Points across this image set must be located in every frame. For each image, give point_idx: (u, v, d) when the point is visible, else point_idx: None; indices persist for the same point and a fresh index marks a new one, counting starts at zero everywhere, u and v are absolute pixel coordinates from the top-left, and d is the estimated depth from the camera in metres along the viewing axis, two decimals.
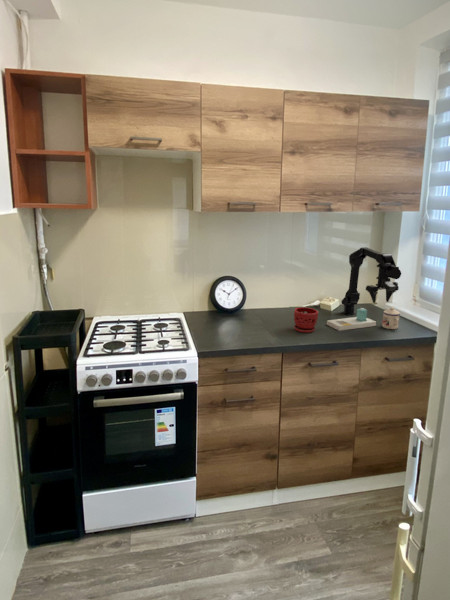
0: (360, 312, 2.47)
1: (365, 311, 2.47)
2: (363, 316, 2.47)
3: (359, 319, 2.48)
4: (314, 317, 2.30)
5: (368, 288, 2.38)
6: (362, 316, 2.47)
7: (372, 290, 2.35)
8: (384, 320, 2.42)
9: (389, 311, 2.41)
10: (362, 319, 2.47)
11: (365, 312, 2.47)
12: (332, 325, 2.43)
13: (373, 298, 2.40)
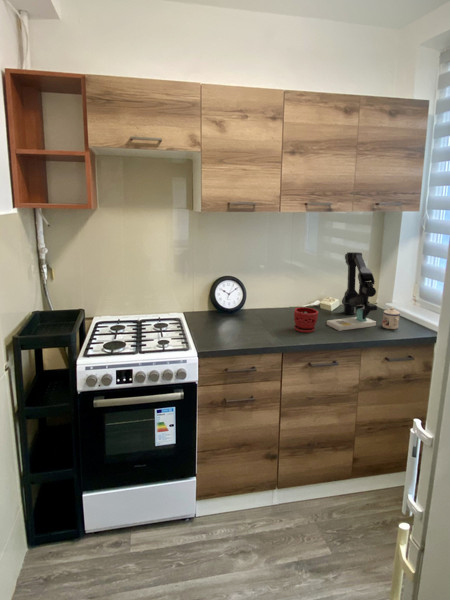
0: (360, 312, 2.47)
1: None
2: None
3: (359, 319, 2.48)
4: (314, 317, 2.30)
5: None
6: (362, 316, 2.47)
7: (349, 301, 2.54)
8: (384, 320, 2.42)
9: (389, 311, 2.41)
10: (362, 319, 2.47)
11: None
12: (332, 325, 2.43)
13: None
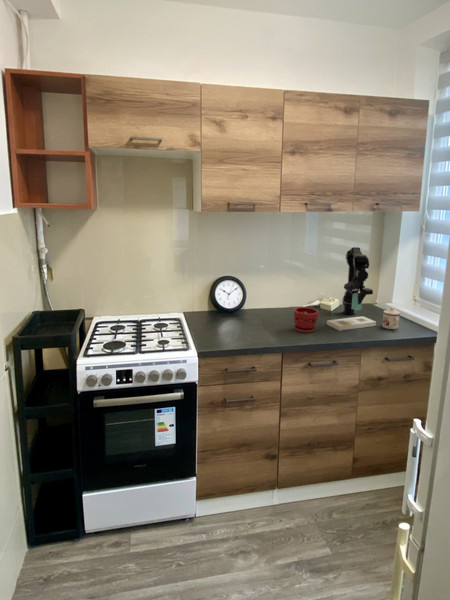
0: (355, 297, 2.42)
1: None
2: None
3: (354, 304, 2.44)
4: (314, 317, 2.30)
5: None
6: (357, 301, 2.42)
7: (344, 286, 2.50)
8: (384, 320, 2.42)
9: (389, 311, 2.41)
10: (357, 304, 2.43)
11: None
12: (332, 325, 2.43)
13: None
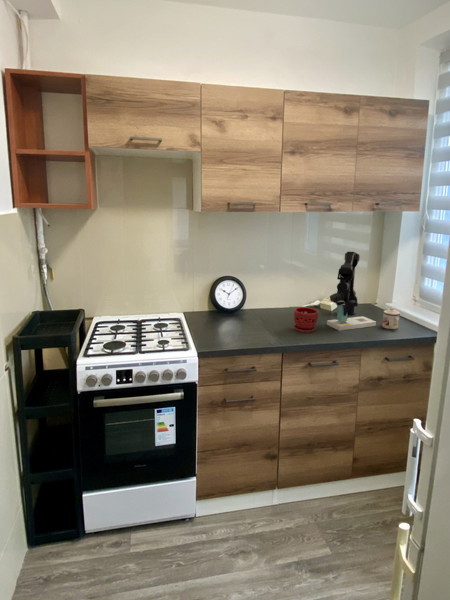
0: (341, 308, 2.41)
1: None
2: None
3: (340, 315, 2.42)
4: (314, 317, 2.30)
5: None
6: (343, 312, 2.41)
7: None
8: (384, 320, 2.42)
9: (389, 311, 2.41)
10: (343, 315, 2.41)
11: None
12: (332, 325, 2.43)
13: None
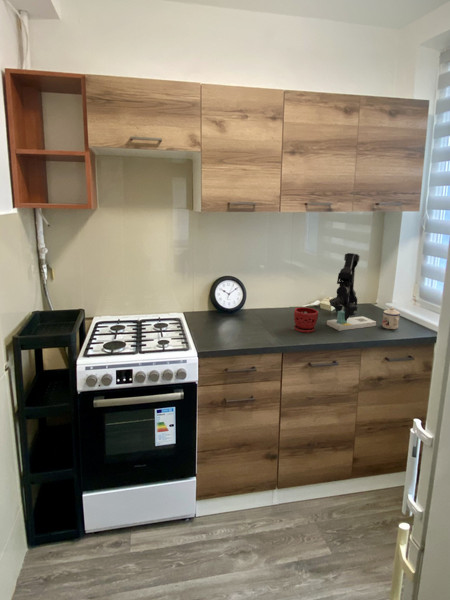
0: (340, 314, 2.42)
1: None
2: (343, 319, 2.42)
3: (339, 321, 2.43)
4: (314, 317, 2.30)
5: None
6: (342, 318, 2.42)
7: None
8: (384, 320, 2.42)
9: (389, 311, 2.41)
10: (342, 321, 2.42)
11: None
12: (332, 325, 2.43)
13: None
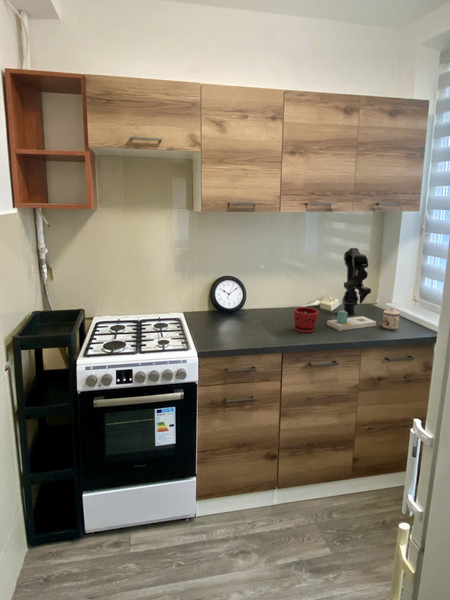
0: (340, 314, 2.42)
1: (345, 313, 2.42)
2: (343, 319, 2.42)
3: (339, 321, 2.43)
4: (314, 317, 2.30)
5: None
6: (342, 318, 2.42)
7: None
8: (384, 320, 2.42)
9: (389, 311, 2.41)
10: (342, 321, 2.42)
11: (345, 314, 2.42)
12: (332, 325, 2.43)
13: None
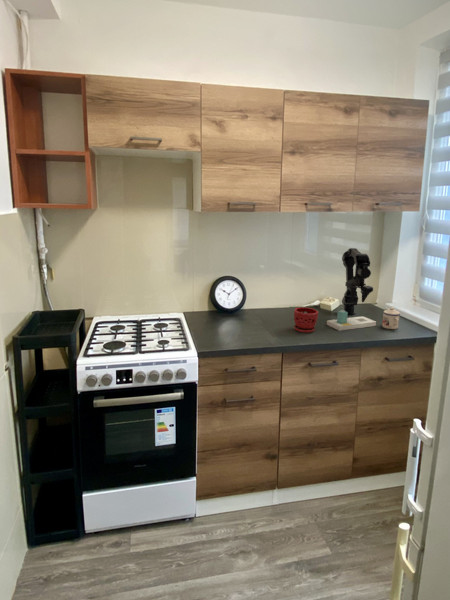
0: (340, 314, 2.42)
1: (345, 313, 2.42)
2: (343, 319, 2.42)
3: (339, 321, 2.43)
4: (314, 317, 2.30)
5: None
6: (342, 318, 2.42)
7: (345, 284, 2.58)
8: (384, 320, 2.42)
9: (389, 311, 2.41)
10: (342, 321, 2.42)
11: (345, 314, 2.42)
12: (332, 325, 2.43)
13: None
